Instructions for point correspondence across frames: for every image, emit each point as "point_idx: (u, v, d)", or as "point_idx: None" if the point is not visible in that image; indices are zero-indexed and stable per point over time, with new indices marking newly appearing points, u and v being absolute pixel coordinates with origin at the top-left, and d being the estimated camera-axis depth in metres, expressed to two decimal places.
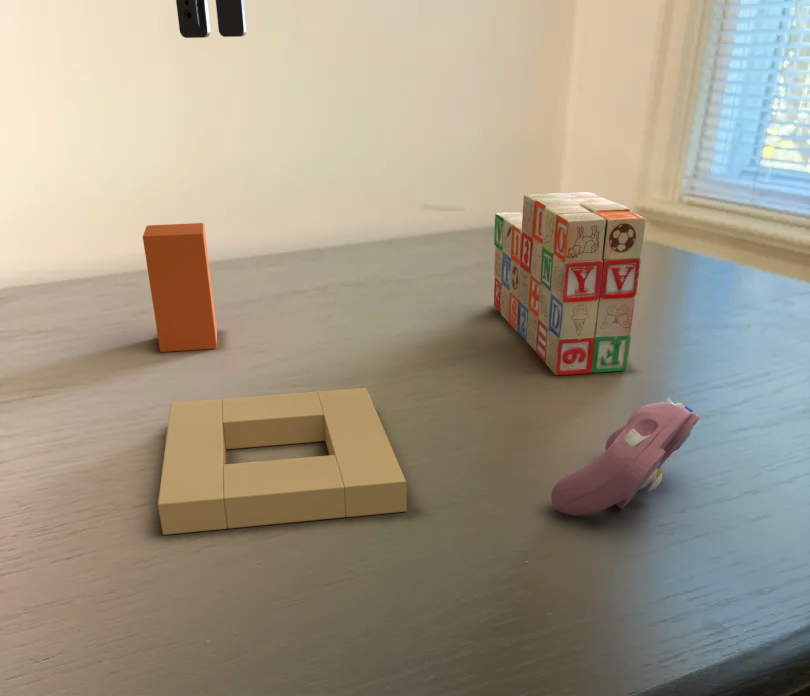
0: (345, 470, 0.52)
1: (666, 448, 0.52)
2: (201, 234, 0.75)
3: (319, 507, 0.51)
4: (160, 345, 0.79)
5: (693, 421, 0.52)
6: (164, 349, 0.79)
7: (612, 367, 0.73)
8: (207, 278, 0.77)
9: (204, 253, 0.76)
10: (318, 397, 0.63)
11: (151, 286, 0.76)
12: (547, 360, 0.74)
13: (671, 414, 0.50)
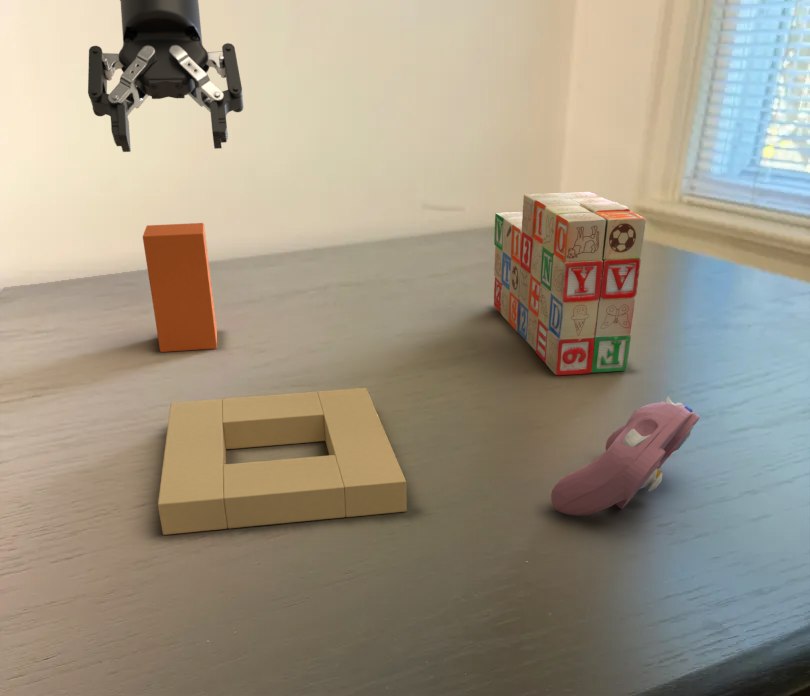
0: (345, 470, 0.52)
1: (666, 448, 0.52)
2: (201, 234, 0.75)
3: (319, 507, 0.51)
4: (160, 345, 0.79)
5: (693, 421, 0.52)
6: (164, 349, 0.79)
7: (612, 367, 0.73)
8: (207, 278, 0.77)
9: (204, 253, 0.76)
10: (318, 397, 0.63)
11: (151, 286, 0.76)
12: (547, 360, 0.74)
13: (671, 414, 0.50)
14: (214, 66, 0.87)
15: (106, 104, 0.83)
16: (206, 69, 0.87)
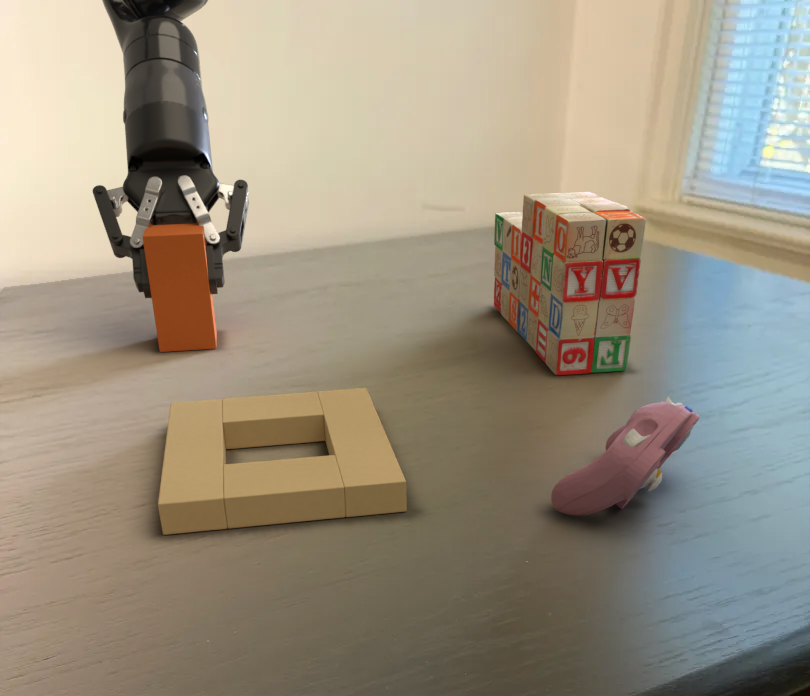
0: (345, 470, 0.52)
1: (666, 448, 0.52)
2: (201, 234, 0.75)
3: (319, 507, 0.51)
4: (160, 345, 0.79)
5: (693, 421, 0.52)
6: (164, 349, 0.79)
7: (612, 367, 0.73)
8: (207, 278, 0.77)
9: (204, 253, 0.76)
10: (318, 397, 0.63)
11: (151, 286, 0.76)
12: (547, 360, 0.74)
13: (671, 414, 0.50)
14: (223, 198, 0.81)
15: (127, 248, 0.77)
16: (217, 197, 0.81)
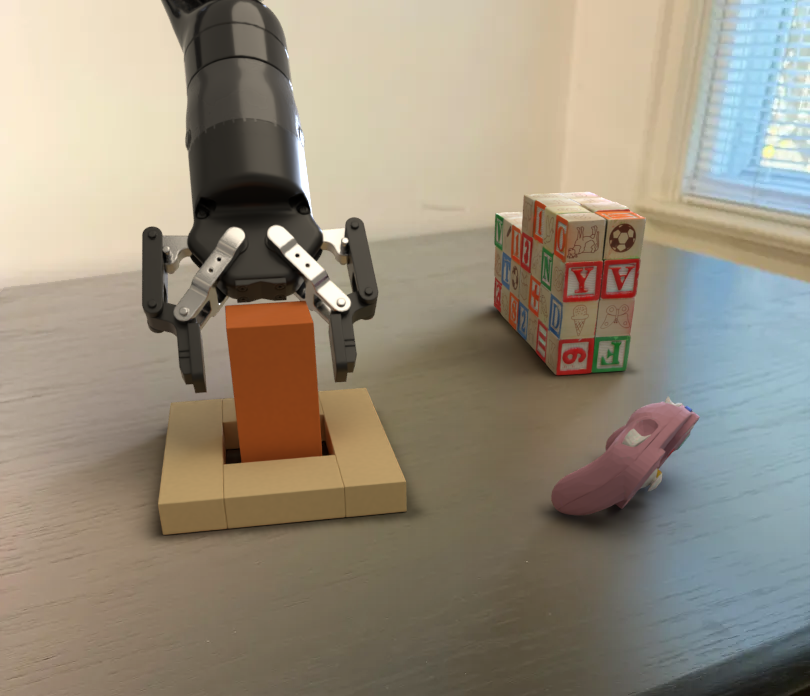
0: (345, 470, 0.52)
1: (666, 448, 0.52)
2: (311, 323, 0.51)
3: (319, 507, 0.51)
4: None
5: (693, 421, 0.52)
6: None
7: (612, 367, 0.73)
8: (316, 384, 0.53)
9: (313, 350, 0.52)
10: None
11: (235, 397, 0.53)
12: (547, 360, 0.74)
13: (671, 414, 0.50)
14: (331, 250, 0.57)
15: (170, 321, 0.53)
16: (318, 254, 0.57)
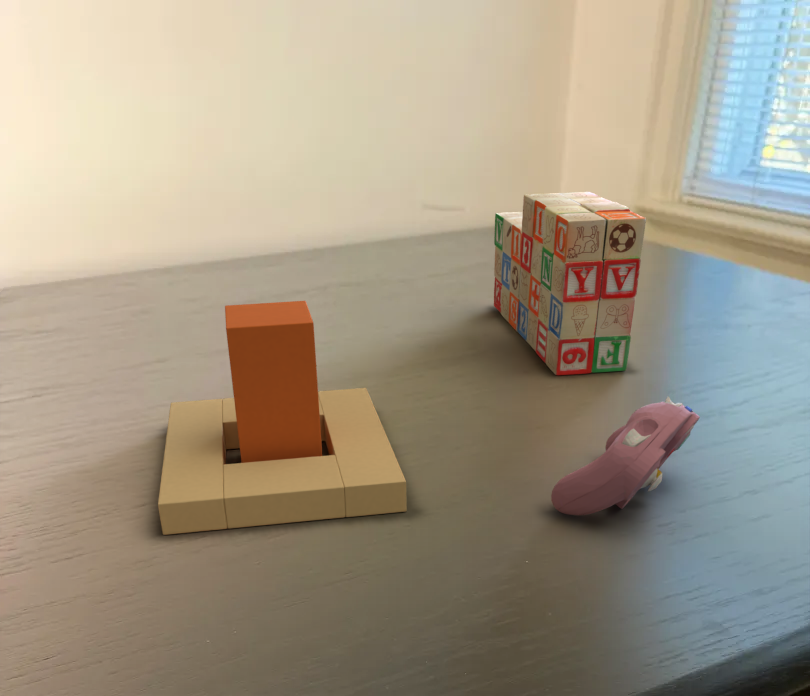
0: (345, 470, 0.52)
1: (666, 448, 0.52)
2: (311, 323, 0.51)
3: (319, 507, 0.51)
4: None
5: (693, 421, 0.52)
6: None
7: (612, 367, 0.73)
8: (316, 384, 0.53)
9: (313, 350, 0.52)
10: (318, 397, 0.63)
11: (235, 397, 0.53)
12: (547, 360, 0.74)
13: (671, 414, 0.50)
14: None
15: None
16: None
